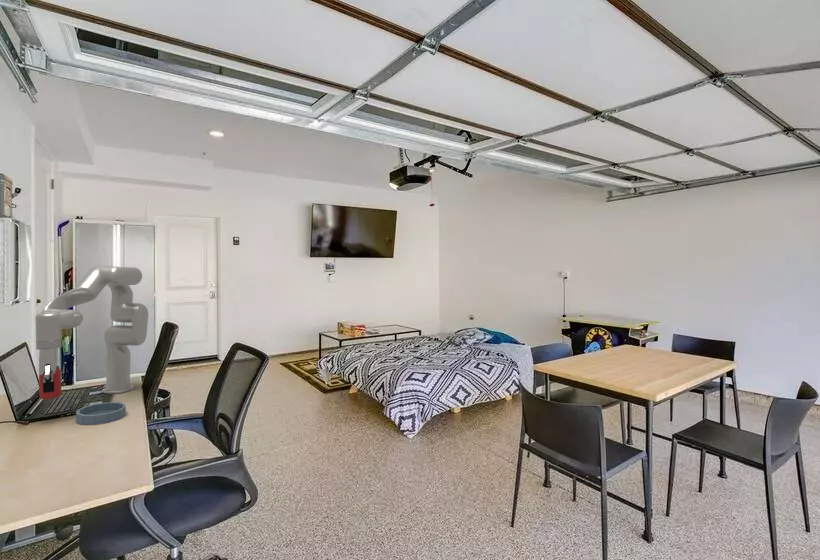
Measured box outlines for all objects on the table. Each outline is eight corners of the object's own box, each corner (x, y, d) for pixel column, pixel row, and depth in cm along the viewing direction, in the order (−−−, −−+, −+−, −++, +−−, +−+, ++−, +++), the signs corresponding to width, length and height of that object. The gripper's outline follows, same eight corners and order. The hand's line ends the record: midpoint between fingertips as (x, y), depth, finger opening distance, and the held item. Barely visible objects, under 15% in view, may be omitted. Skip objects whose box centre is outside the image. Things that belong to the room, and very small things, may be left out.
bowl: (77, 414, 172) (77, 406, 172) (124, 408, 181) (125, 400, 181) (74, 427, 159) (74, 418, 159) (126, 419, 168) (126, 411, 168)
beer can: (66, 395, 169) (65, 365, 168) (50, 400, 162) (49, 370, 162) (51, 394, 170) (50, 364, 169) (35, 399, 163) (33, 369, 162)
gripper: (39, 340, 169) (40, 384, 171) (32, 349, 155) (33, 397, 157) (63, 339, 174) (64, 381, 175) (59, 347, 160) (60, 394, 161)
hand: (49, 388), depth 166 cm, fingers closed on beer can, 6 cm apart
